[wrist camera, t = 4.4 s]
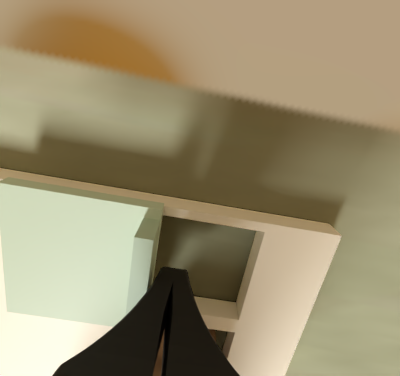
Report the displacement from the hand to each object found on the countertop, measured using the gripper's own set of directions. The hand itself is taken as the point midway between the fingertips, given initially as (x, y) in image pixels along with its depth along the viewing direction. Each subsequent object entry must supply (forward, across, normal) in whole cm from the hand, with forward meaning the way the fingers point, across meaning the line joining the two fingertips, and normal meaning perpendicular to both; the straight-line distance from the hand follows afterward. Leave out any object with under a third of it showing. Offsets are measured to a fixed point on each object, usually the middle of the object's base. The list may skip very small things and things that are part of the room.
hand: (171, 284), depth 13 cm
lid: (+1, +5, 0) cm, 5 cm away
